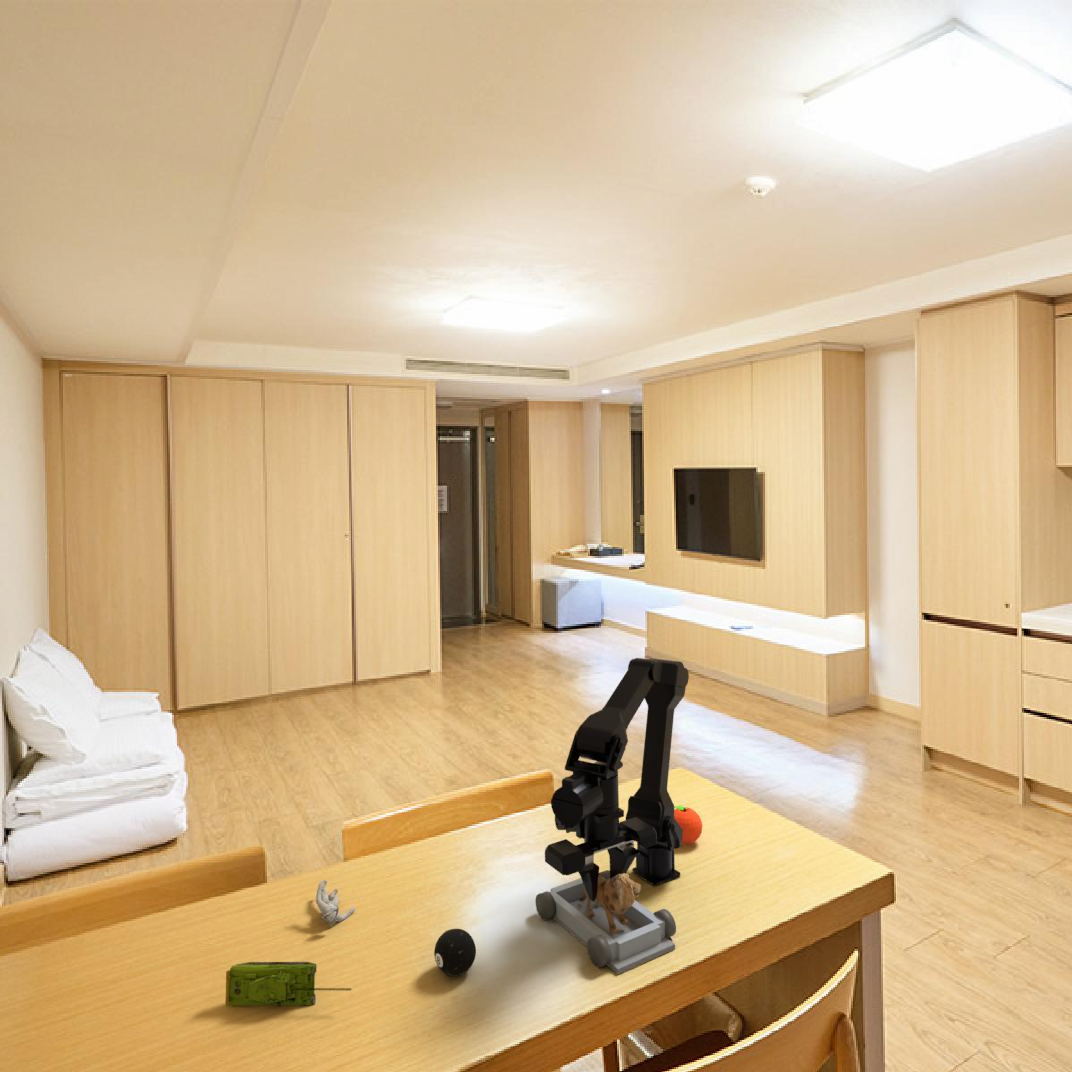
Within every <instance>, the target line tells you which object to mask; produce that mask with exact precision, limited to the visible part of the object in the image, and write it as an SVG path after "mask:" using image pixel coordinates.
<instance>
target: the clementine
mask: <svg viewBox="0 0 1072 1072" xmlns="http://www.w3.org/2000/svg"><path fill="white" fill-rule="evenodd" d="M674 818H675V820H676V821H677V822H678V824H679V825H680V827H681V828H682V829H683V835H682V836H683V838H682V842H681V845H691V844H693V843H695V842H696V841H697V840H698V839H699V838H700V837H701V835H702V832H703V822H702V819H701V817H700V815H699V814H698V813H697V812H696V810H694V809H692V808H690V807H688V806H683V805H674Z"/></svg>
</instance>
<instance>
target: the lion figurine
mask: <svg viewBox="0 0 1072 1072" xmlns="http://www.w3.org/2000/svg"><path fill="white" fill-rule="evenodd" d="M641 886H642V884H640V883H638V882H635V881H634V880H633V879H631V878H630V875H629V874H628V873H626V874H625V873H623V874H618V875H616V876H615V877H613V878H611V879H606V880H603V879H602V877H601V874H600V872H599V876H598V885H597V894H596V899H595V901H594V903H595V904H601V905H602V906H604V908H605V912H606V916H607V920H608V924H609V931H610V933H616V932H617V929H616V925H615V923H614V919H613V913H617V914H618V919H619V923H620V924H622V925H627V923H628V920H627V919H624V917H623V914H624V912H626V911H627V910H628V908H629V907H631V906H632V905H633V903H634V901H636V900H635V899H636V898H638V897H639V895H640V894H639V893H640V892H641ZM584 887H585V886H584ZM585 892H586V893H585V895H584V896H583V897H581V898H580V899H579V900H580V901H584V900H585V899H586V897H587V907H588V917H589V918H592V917H594V916H595V914H594V912H593V910H592V903H591V900H590V899H589V897H588V894H587V891H586V889H585Z"/></svg>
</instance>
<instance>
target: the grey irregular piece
mask: <svg viewBox="0 0 1072 1072" xmlns="http://www.w3.org/2000/svg"><path fill="white" fill-rule="evenodd" d="M327 884H328V880H327V879H324V880H321V881H320V882H319V883H318V887H317V890H316V897H315V903H316V905H317V907H318V910H319V911H320V912H321V914H322V916H321V917H320V918H321V919H322V920H323V921H326V922H327V923H328V924H329V925H330V926H331V927H333V925H335V923H336V922H343V921H344V920H346V919H347V918H348V917H349V916H351V914H353V913H354V912H355V910H356V906H353V905H352V906H351V908H350V909H349V910H348V911H346V912H344V913H343V914H340V913H339V910H340V908H339V907H338V905H339V902H340V897H339V896H337V894H338V893H339V888H337V887H336V888H334V889H333V890H332V892H331V893H330V894H329V895H328V889H327V888H326V886H327Z"/></svg>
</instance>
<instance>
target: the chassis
mask: <svg viewBox="0 0 1072 1072" xmlns="http://www.w3.org/2000/svg"><path fill="white" fill-rule="evenodd" d="M599 873H600V874H601V877H602V879H603V880H606V879H610V869H609V870H608V869H606V870H603V871H601V872H600V871H599ZM585 893H586V892H585V887H584V884H583V881H582V879H581V877H580V878H577V879H575V880H572V881H569V882H566V883H564V884H560V885H557V886H554V887H552V888H550V891H543V892H541V893H538V894H537V895H536V896H535V903H534V904H535V908H536V911H537V913H538V915H539V917H540V919H541V920H544V921H546V920H549V919H553V920H555V922H557V923H558V924H559V925H560V926H561V927H562V928H564V929H565V930H566V931H567V932H569V934H571V935H572V936H573V937H574V938H575V939H577V940H578V941H579V942H580V943H581V944H582V945H583V946H584V947H586V949H587V954H588V956H589V959H590V960H591V963H592V964H593V965H594V966H595V967H596V968H602V967H604V966H606V965H607V966H608V967H609V968H610V969H612V971H613V972H615V973H616V974H617V975H621V974H622V973H625V972H627V971H630V970H631V969H634V968H636V967H639V966H640V965H643V964H645V963H647V962H649V961H651V960H654V959H655V958H658V957H661V956H663V955H664V954H667V953H669V952H672V951H674V950H675V949H676V943H674V942H673V941H671V940H670V939H669V938H671V937H673V936H675V934H676V933H677V925H676V921H675V919H674V917H673V915H672V913H671V912H670V911H669V910H668V909H666V908H662V909H660V910H657V911H654V912H653V911H651V910H650V909H648V908H647V907H645V906H644V905H642V904H641V903H640V902H639V901H637V900H635V901H634V903H633V905H632V906H631V907H629V908H628V910H627V911H626V912H624V914H623V917H624V919H627V920H628V923H627V925H622V924H620V923H619V919H618V914H617V913H613V919H614V923H615V925H616V929H617V932H616V933H610V931H609V924H608V920H607V916H606V912H605V908H604V906H602V905H601V904H595V903H594V901H591V903H592V910H593V912H594V914H595V916H594V917H592V918H589V917H588V907H587V897H586V899H585V900H584V901H580V900H579V899H580V898H581V897H583V896H584V895H585Z"/></svg>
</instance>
